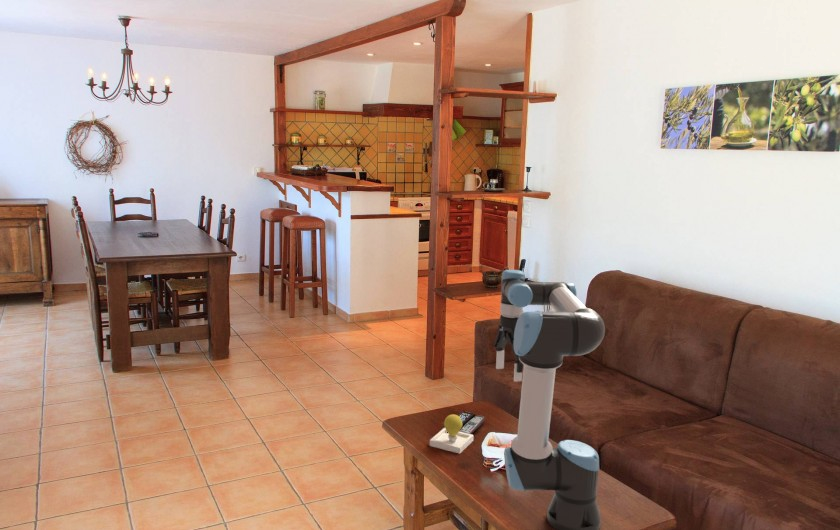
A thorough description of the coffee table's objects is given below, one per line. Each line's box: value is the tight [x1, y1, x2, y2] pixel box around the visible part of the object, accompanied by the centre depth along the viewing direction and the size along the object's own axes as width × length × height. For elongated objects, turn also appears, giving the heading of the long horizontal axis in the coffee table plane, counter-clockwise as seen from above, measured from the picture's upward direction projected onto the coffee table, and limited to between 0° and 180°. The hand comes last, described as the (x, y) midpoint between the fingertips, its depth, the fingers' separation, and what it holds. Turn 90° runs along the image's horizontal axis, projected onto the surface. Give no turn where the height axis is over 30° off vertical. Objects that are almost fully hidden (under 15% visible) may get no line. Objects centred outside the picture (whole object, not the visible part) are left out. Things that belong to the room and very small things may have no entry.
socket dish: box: [429, 427, 474, 454], centre depth 233 cm, size 12×12×2 cm
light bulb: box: [443, 413, 463, 442], centre depth 231 cm, size 7×7×10 cm
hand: (508, 374), depth 221 cm, fingers open, 13 cm apart
